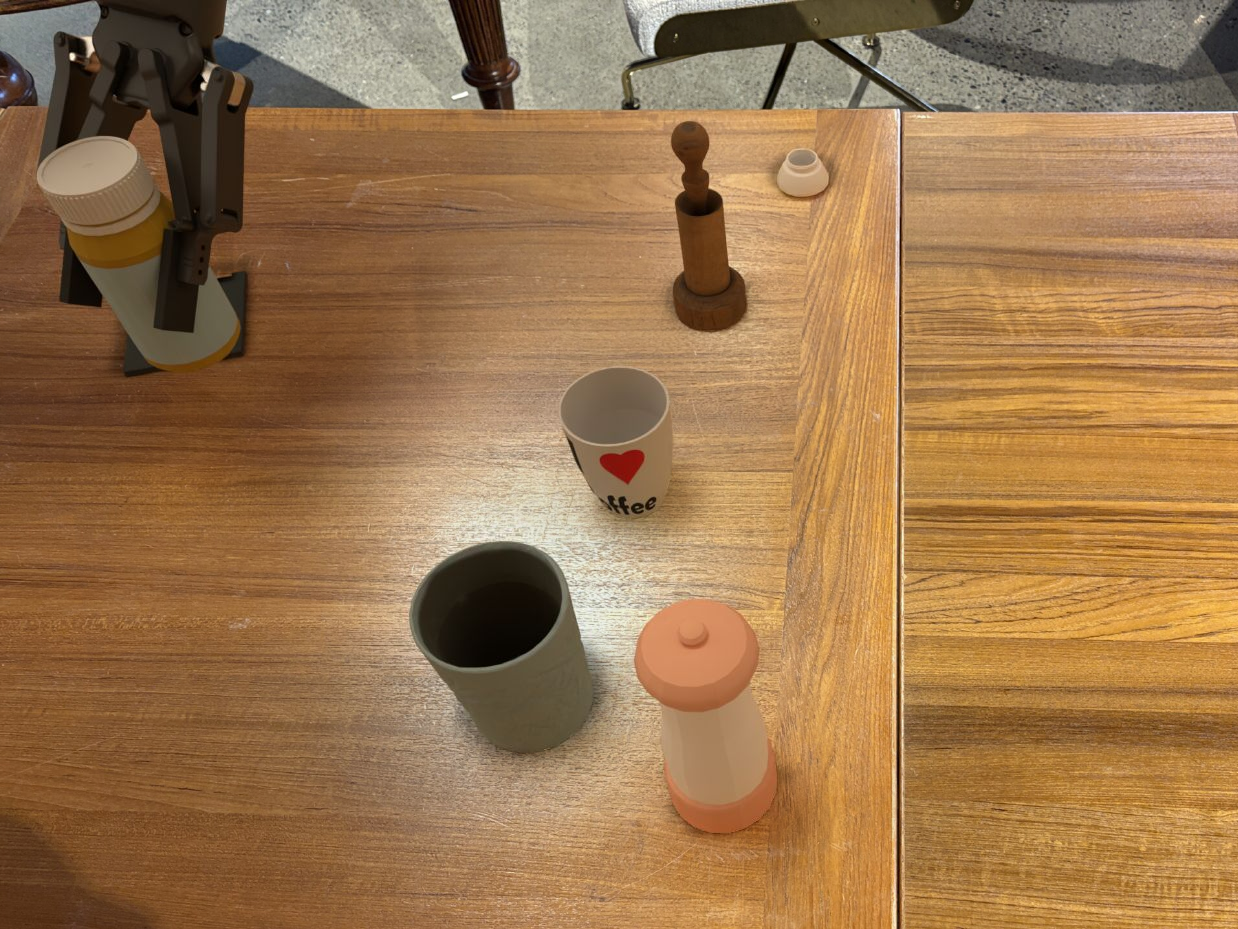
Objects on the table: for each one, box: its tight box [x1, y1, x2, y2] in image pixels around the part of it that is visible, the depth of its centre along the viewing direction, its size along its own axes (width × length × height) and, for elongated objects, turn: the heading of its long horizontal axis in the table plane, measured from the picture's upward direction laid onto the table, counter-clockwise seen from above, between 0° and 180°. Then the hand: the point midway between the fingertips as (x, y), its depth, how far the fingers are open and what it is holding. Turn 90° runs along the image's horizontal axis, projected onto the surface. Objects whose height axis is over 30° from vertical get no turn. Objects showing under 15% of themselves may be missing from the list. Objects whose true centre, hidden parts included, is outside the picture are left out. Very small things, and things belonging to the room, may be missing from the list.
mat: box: [122, 270, 248, 377], centre depth 107 cm, size 10×11×1 cm
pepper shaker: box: [633, 598, 778, 834], centre depth 73 cm, size 7×7×19 cm
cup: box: [557, 365, 674, 520], centre depth 91 cm, size 8×8×10 cm
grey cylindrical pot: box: [408, 540, 595, 753], centre depth 80 cm, size 10×10×12 cm
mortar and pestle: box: [670, 120, 748, 332], centre depth 100 cm, size 7×6×18 cm
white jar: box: [776, 147, 830, 198], centre depth 116 cm, size 5×3×5 cm
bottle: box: [36, 136, 241, 374], centre depth 82 cm, size 7×7×15 cm
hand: (126, 316), depth 81 cm, fingers closed on bottle, 7 cm apart
